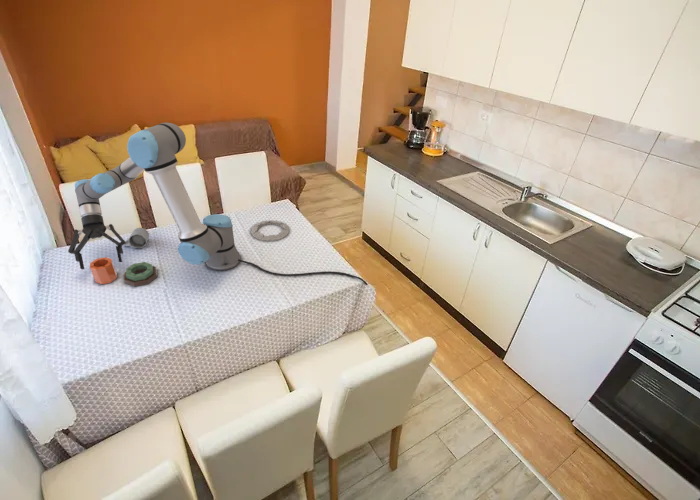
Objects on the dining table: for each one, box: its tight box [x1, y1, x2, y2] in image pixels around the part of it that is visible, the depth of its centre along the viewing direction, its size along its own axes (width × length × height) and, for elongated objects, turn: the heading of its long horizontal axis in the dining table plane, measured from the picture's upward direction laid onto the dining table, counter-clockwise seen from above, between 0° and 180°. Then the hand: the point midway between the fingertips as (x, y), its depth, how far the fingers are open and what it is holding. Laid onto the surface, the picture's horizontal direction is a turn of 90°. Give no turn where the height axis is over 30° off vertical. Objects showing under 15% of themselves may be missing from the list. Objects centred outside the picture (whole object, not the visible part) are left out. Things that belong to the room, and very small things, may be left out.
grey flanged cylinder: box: [124, 227, 150, 249], centre depth 180 cm, size 11×8×8 cm
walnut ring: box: [123, 265, 158, 287], centre depth 162 cm, size 12×12×2 cm
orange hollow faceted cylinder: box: [89, 256, 118, 285], centre depth 158 cm, size 8×8×8 cm
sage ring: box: [125, 261, 154, 281], centre depth 161 cm, size 10×10×2 cm
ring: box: [250, 220, 290, 242], centre depth 199 cm, size 19×19×2 cm
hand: (101, 265), depth 156 cm, fingers open, 13 cm apart
